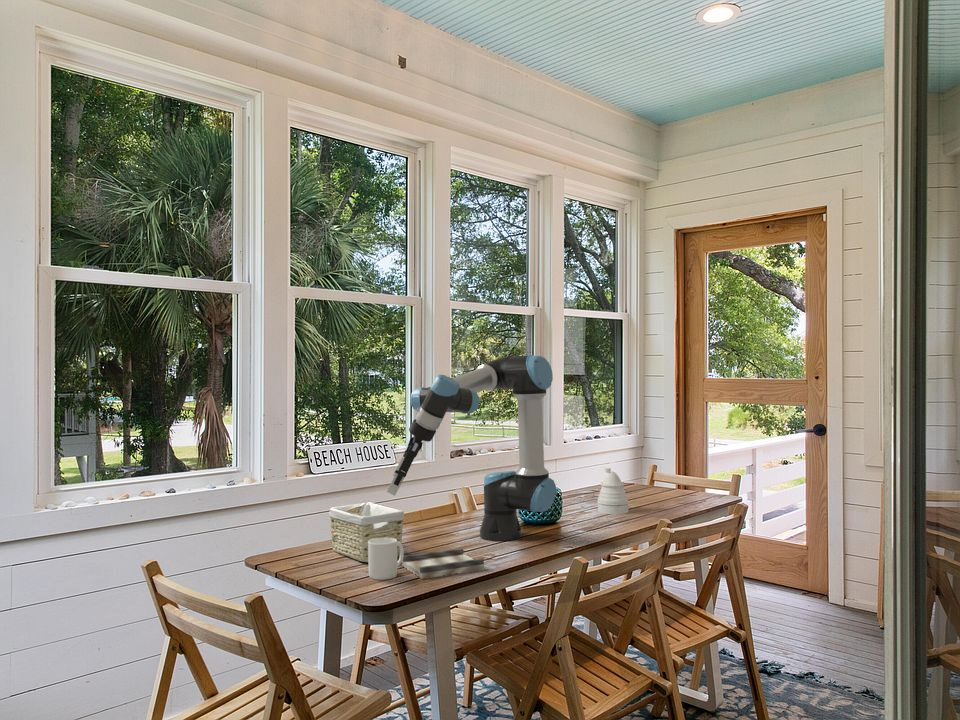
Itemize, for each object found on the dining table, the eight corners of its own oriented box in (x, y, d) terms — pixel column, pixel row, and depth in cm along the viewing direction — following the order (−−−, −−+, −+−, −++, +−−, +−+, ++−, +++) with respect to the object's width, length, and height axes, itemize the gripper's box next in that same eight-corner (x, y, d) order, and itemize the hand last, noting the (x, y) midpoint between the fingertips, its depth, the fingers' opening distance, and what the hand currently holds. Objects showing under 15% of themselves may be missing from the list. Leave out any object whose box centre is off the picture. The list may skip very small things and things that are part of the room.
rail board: (461, 557, 221) (461, 548, 221) (484, 569, 206) (484, 559, 206) (402, 565, 212) (402, 555, 212) (421, 578, 197) (421, 568, 197)
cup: (362, 576, 201) (362, 541, 201) (394, 567, 209) (393, 534, 210) (381, 581, 195) (381, 545, 195) (412, 572, 204) (412, 538, 204)
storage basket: (327, 551, 232) (327, 506, 232) (370, 543, 242) (370, 500, 242) (361, 565, 213) (361, 517, 213) (406, 556, 223) (406, 510, 223)
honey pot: (594, 513, 291) (594, 470, 292) (601, 507, 303) (600, 466, 303) (625, 515, 286) (624, 471, 287) (631, 509, 298) (630, 467, 299)
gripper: (418, 408, 217) (388, 465, 220) (409, 430, 192) (376, 494, 196) (439, 419, 218) (409, 476, 221) (433, 442, 193) (400, 506, 196)
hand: (393, 485), depth 208 cm, fingers open, 13 cm apart
